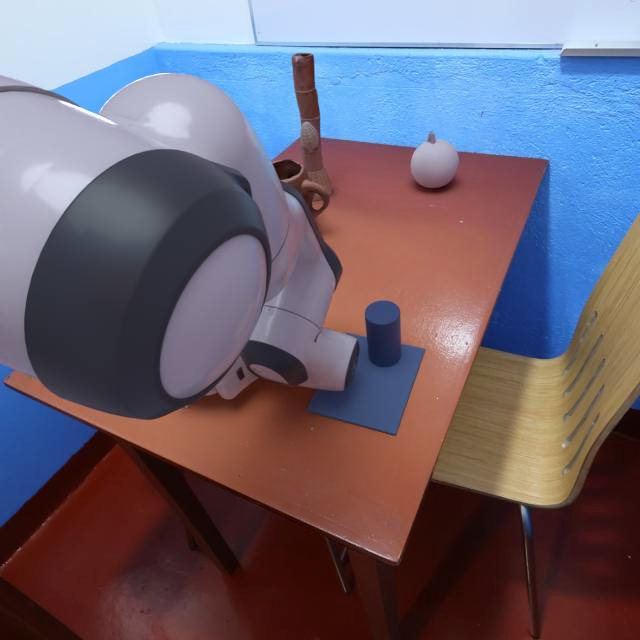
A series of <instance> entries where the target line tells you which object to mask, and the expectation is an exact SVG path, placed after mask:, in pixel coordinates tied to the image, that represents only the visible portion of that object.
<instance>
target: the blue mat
mask: <svg viewBox="0 0 640 640" xmlns="http://www.w3.org/2000/svg"><path fill="white" fill-rule="evenodd" d="M345 334H347V335H350V336H352V337H354V338H356V339H357V340H358V342H359V346H360V351H359V356H358V362H357V366H356V369H355V373H354V376H353V379H352V381H351V383H350V385H349V386H348V387H347V388H346V389H345V390H344V391H329V390H321V389H315V392H314V394H313V396H312V398H311V400H310V402H309V404H308V406H307V408H306V412H308V413H312V414H316V415H318V416H321V417H326V418H329V419H334V420H336V421H339V422H340V421H341V422H343V423H344V422H345V423H348V424H352V425H355V426H358V427H362V428H367V429H370V430H373V431H377V432H380V433H384V434H388V435H391V436H395V437H396V435H397V432H398V430H399V428H400V425H401V421H402V420H403V419H402V418H403V416H404V412H405V410H406V407H407V405H408V401H409V398H410V396H411V392H412V389H413V386H414V383H415V381H416V378H417V375H418V372H419V370H420V366H421V363H422V361H423V357H424V354H425V352H426V348H424V347H419V346H414V345H410V344H405V343H401V358H400V360H399V362H398V363H396V364H395V365H393V366H390V367H379V366H376V365H374V364H373V363H372V362H371V361H370V360H369V356H368V346H367V336H366V335H359V334H354V333H350V332H345Z"/></svg>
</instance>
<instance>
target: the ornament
mask: <svg viewBox="0 0 640 640" xmlns="http://www.w3.org/2000/svg"><path fill="white" fill-rule="evenodd" d="M459 163H460V160H459V153H458V151H457V149H456V147H455V146H454V145H453V144H452V143H450V142H449V141H447V140H445V139H441V138H436V134H435V133H434V132H430V133H428V135H427V139H426V141H424V142H422V143H421V144H419V145H418V146H417V147H416V149H415V150H414V152H413V154H412V156H411V159H410V173H411V175H412V178H413V179H414V181H415V182H417V183H418V184H419V185H420V186H422V187H424V188H427V189H438V188H441V187H444V186H446V185H447V184H449V183H450V182H451V181H452V180H453V179H454V177H456V174H457V171H458V169H459V165H460V164H459Z"/></svg>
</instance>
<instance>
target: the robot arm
mask: <svg viewBox="0 0 640 640" xmlns="http://www.w3.org/2000/svg"><path fill="white" fill-rule="evenodd" d="M272 162H273V161H272V160H271V158H270V156H269V154H268V152H267V150H266V148H265V146H264V144H263V143H262V141H261V139H260V137H259V136H258V134H257V133H256V131H255V129H254V128H253V126H252V124H251V123H250V121H249V120H248V119H247V118H246V116H245V114H244V113H243V111H242V110H241V109H240V106H238V104H237V103H236V102H235V101H234V99H233V98H231V96H229V94H228V93H226V92H225V91H224V90H222V89H221V88H220V87H218V86H217V85H215V84H214V83H212V82H210V81H208V80H205V79H204V78H202V77H198V76H195V75H191V74H187V73H178V72H163V73H156V74H152V75H147V76H144V77H142V78H139V79H137V80H135V81H132V82H130V83H128V84H126V85H125V86H123V87H122V88H120V89H119V90H118V91H116V92H115V93H114V94H113V95H112V96H110V98H109V99H108V100H107V101H105V103H104V104H103V105H102V107H101V109H100V110H99V112H98V113H94V112H91V111H89V110H86V109H85V108H83V107H82V106H81V105H79V104H78V103H76V102H74V101H73V100H71V99H69V98H67V97H66V96H64V95H61V94H59V93H56V92H54V91H52V90H49V89H45V88H43V87H41V86H37V85H34V84H32V83H29V82H26V81H23V80H21V79H20V80H19V79H17V78H13V77H9V76H6V75H3V74H0V365H2V366H4V367H8V368H10V369H12V370H15V371H17V372H19V373H21V374H24V375H27V376H28V377H31V378H34V379H36V380H39V382H40V384H42V385H43V386H44V388H45V389H46V390H48V392H50V393H52V394H53V395H55V396H57V397H59V399H63V400H66V401H68V402H71V403H74V404H77V405H80V406H82V407H85V408H88V409H91V410H96V411H99V412H102V413H105V414H109V415H113V416H118V417H123V418H128V419H135V420H143V421H154V420H158V419H160V418H163V417H166V416H167V415H170V414H172V413H174V412H177V411H179V410H181V409H183V408H184V407H185V406H188V405H190V406H191V405H192V404H194V403H196V402H197V401H199V400H201V399H202V398H203V397H205V396H212V395H215V394H217V393H218V394H219V396H220V397H221V398H222V399H224V400H233V399H234V398H235V397H237V396H238V395H239V394H240V393H241V392H242V391H243V390H245V388H247V387H248V386H249V385H250V384H252V383H253V382H255V381H256V380H257V379H261V380H264V381H267V382H270V383H274V384H279V385H282V386H286V387H290V388H292V387H296V386H298V387H302V388H303V387H304V388H309V389H315V390H317V389H321V390H329V391H344V390H345V389H346V388H347V387H348V386H349V385H350V383H351V381H352V379H353V376H354V373H355V369H356V366H357V362H358V356H359V351H360V346H359V342H358V340H357V339H356V338H354V337H352V336H350V335H347V334H346V333H344V332H340V331H338V330H335V329H332V328H328V327H324V325H325V322H326V319H327V315H328V313H329V310H330V306H331V303H332V300H333V296H334V293H336V290H337V288H338V286H339V284H340V283H339V282H340V280H341V278H342V275H343V271H344V270H343V265H342V262H341V260H340V259H339V257H338V255H337V253H336V252H335V251H334V249H333V248H332V247H331V246H330V245H329V244H328V243H327V242H326V241H325V240H324V237H323V235H322V233H321V231H320V229H319V227H318V225H317V222H316V220H315V218H313V215H312V213H311V211H310V209H309V207H308V205H307V203H306V202H305V200H304V199H303V197H302V196H301V195H300V193H299V192H298V191H297V190H296V189H295V188H293V187H292V186H291V185H289V184H287V183H285V182H283V181H281V180H279V178H278V176H277V173H276V171H275V169H274V166H273V164H272Z"/></svg>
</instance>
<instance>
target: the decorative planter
mask: <svg viewBox="0 0 640 640" xmlns="http://www.w3.org/2000/svg"><path fill="white" fill-rule="evenodd" d="M271 162H272V164H273V166H274V169H275V171H276V173H277V176H278V178H279V180H281V181H283V182H285V183H287V184H289V185H291V186H292V187H293V188H295V189H296V190H297V191H298V192H299V193H300V195H301V196H302V197H303V199H304V200H305V202H306V203H307V205H308V207H309V209H310V211H311V213H312V215H313V218H314V219H315V218H318V217H319V216H320V215H322V214H323V212H324V211H326V209H328V207H329V205H330V197H331V195H330V196H329V194H328V193H327V191H326V190H325V188H324V187H323V186H321V185H319V184H317V183H315V182H312V180H311V178H310V177H309V176H308V174H307V171H306V169H305V168H304V164H302V163H300V162H298V161H295V160H292V159H291V158H290V159H281V160H280V159H279V160H274V161H271ZM315 193H317V194H319V195H320V196H321V198H322V200H321V201H322V206H321V207H320V208H318V209H315V208H314V206H313V202H314V201H313V198H314V196H315Z"/></svg>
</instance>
